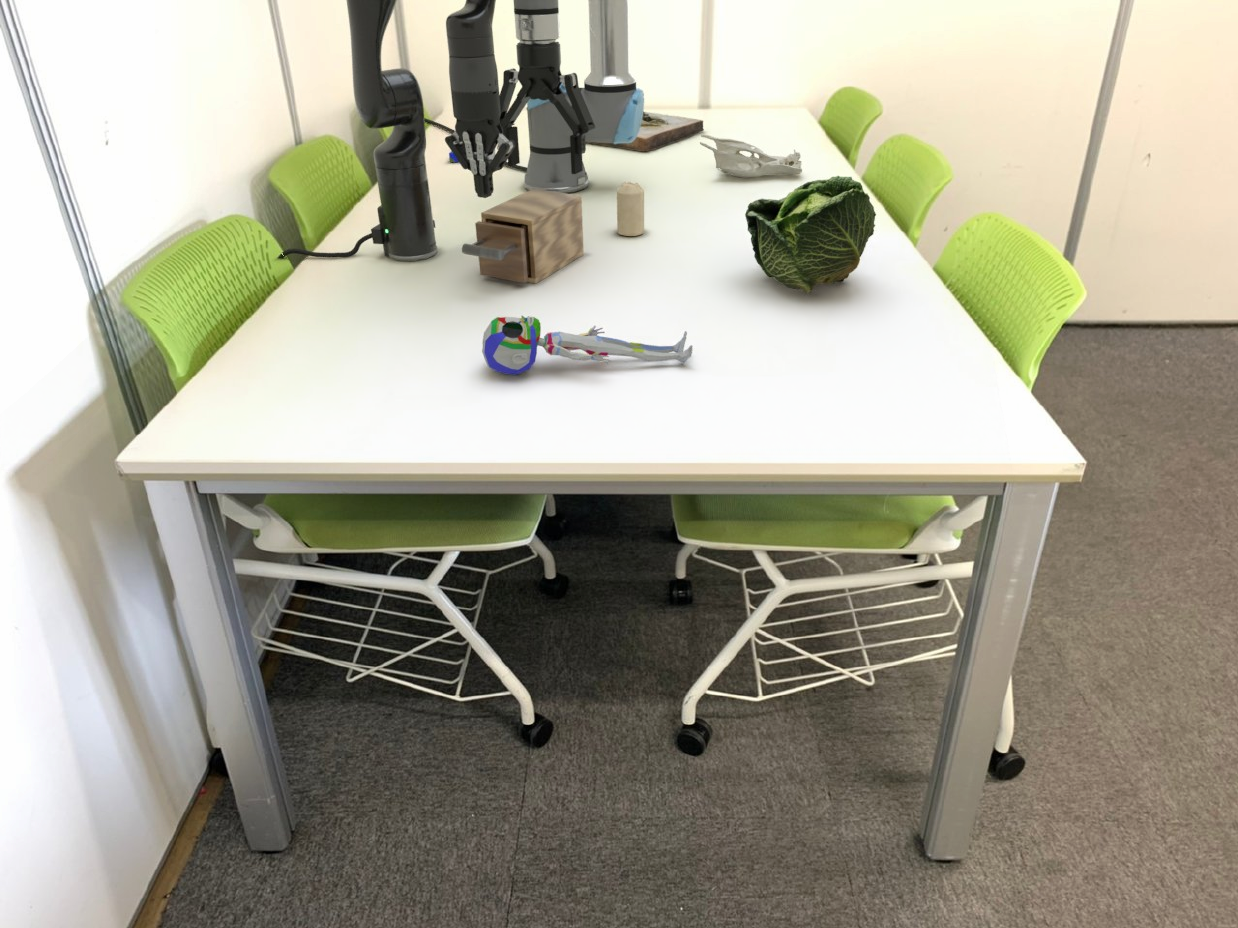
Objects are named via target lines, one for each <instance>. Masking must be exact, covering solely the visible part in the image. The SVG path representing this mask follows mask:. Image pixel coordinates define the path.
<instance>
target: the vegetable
mask: <svg viewBox="0 0 1238 928" xmlns="http://www.w3.org/2000/svg"><path fill="white" fill-rule="evenodd" d="M870 199H871V198H870V195H869V193H868V192H867V193H866V192H865V190H864V188H863V185H862V183H861V181H857V180H854V179H853V177H852V176H840V175H836V176H831V177H830V178H828V179H816V180H812V181H807V182H805V183H803V184H802V185H800V186H798V187H796V188H794V190H792V191H790V192H788V193H787V195H786V196H785V197H783V198H779V199H772V198H759V199H756V200H754V201H752V202H750V203H749V204H748V205H747V209H746V211H745V214H744V216H745V221H746V223H747V232H748V233H749V234H750V236H751V237H750V242H751V246H752V251H753V252H754V255H753V257H754V259H755V261H756V263H757V264H758V265H759V267H760V268H761V270H762V271H763V273H764V274H765V275H766V276H767V278H773V279H774V280H775V281H776V282H778V283H779V284H781V285H783V286H785V287H787V288H790V289H793V290H801V291H804V292H806V294H810V292H815V289H814V287H816V286H817V285H819V284H829V285H833V284H834V283H842V282H843V283H844V281H845V280H847V279H848V278H849V276H850V274H851V273H853V272H854V271H855V270H856V269H857V268H858V266H859V264H860V262H861V258H862V256H863V253H864V251H865V248H866V245H867V243H868V241H869V239H870V238H871V237H872V236H873V235H874V232H875V226H876V224H875V221H876V216H877V213H876V211H875V207H874V205H873V204H872V202H871V201H870Z"/></svg>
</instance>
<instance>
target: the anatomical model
mask: <svg viewBox="0 0 1238 928" xmlns="http://www.w3.org/2000/svg"><path fill="white" fill-rule="evenodd" d="M701 138H705V139H707V140H708V139H709V140H711V141H713V142H714V143H715V146H716V147H712V146H710V145H709V144H707V143H704V142H702V141H699V145H700V146H702V147H705V148H706V149H708V150H711V151H712V152H713V157H714V160H715V169H720V172H722V173H723V174H729V175H731V176H733V177H735V178H757V177H761V176H767V175H768V176H770V175H778V176H779V175H781V176H795V175H800V174H801V173H803V169H802V167H801V166H802V160H800V159H801V153H800V152H797V151H796V149H793V153H790V154H788V155H787V156H780V155H779V156H778V155H770V154H767V153H765V152H764V150H762V149H760V148H759V147H758V146H755V145H752V144H750V143H747V142H744V141H741V140H737V139H732V138H720V137H717V136H711V135H708V134H705V133H702V134H701ZM741 152H748V153H750V154H751V155H750V156H747V155H744V154H743V153H741ZM755 154H756V155H757V156H758V157H756V156H755Z"/></svg>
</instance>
